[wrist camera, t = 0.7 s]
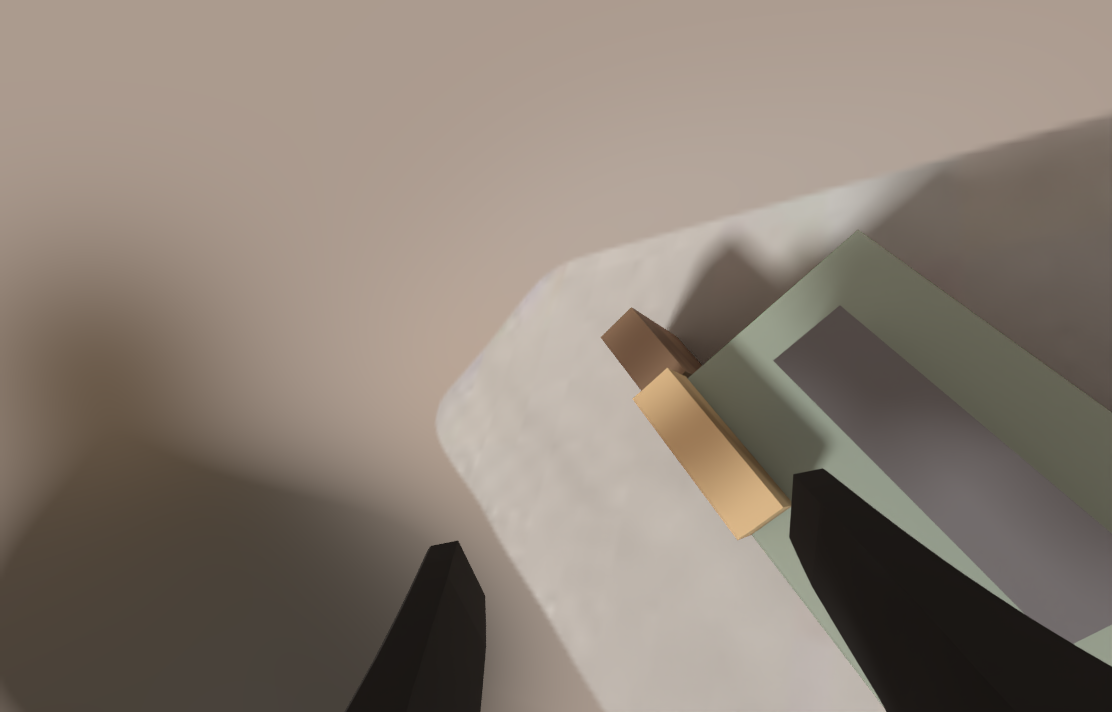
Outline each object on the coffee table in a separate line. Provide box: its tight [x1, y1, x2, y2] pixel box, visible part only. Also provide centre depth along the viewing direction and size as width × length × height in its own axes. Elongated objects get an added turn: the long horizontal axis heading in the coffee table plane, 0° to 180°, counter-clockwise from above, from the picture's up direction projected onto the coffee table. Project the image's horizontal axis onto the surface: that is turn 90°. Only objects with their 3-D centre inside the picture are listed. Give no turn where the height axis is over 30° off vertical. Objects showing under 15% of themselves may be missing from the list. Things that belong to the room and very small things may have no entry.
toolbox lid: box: [688, 230, 1112, 707], centre depth 15 cm, size 14×10×5 cm
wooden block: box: [633, 368, 791, 540], centre depth 18 cm, size 6×2×2 cm, turn 36°
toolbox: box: [601, 307, 702, 391], centre depth 19 cm, size 18×10×6 cm, turn 36°
